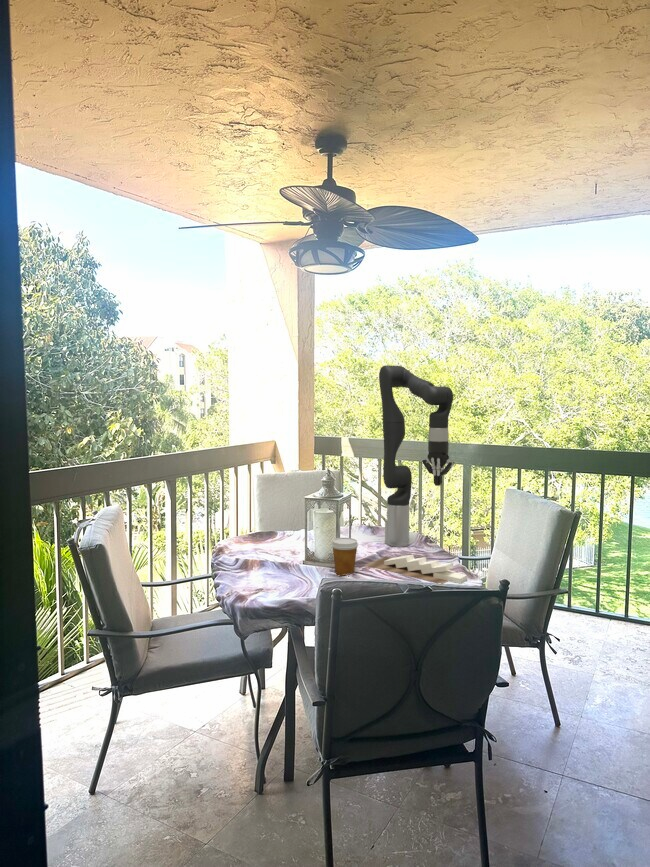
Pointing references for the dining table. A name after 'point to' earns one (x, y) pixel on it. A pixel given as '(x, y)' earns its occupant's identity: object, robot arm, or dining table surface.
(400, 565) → the domino
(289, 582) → the dining table surface
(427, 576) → the walnut board
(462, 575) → the domino
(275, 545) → the dining table surface
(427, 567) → the domino
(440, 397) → the robot arm
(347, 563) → the disposable coffee cup
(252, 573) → the dining table surface
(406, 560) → the domino
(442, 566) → the domino
